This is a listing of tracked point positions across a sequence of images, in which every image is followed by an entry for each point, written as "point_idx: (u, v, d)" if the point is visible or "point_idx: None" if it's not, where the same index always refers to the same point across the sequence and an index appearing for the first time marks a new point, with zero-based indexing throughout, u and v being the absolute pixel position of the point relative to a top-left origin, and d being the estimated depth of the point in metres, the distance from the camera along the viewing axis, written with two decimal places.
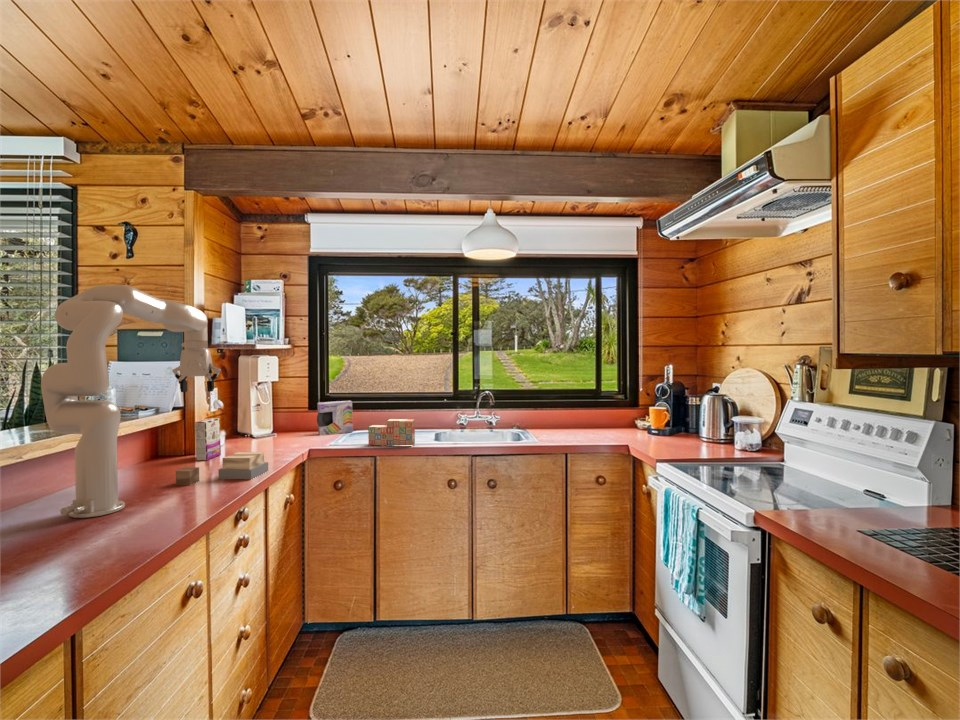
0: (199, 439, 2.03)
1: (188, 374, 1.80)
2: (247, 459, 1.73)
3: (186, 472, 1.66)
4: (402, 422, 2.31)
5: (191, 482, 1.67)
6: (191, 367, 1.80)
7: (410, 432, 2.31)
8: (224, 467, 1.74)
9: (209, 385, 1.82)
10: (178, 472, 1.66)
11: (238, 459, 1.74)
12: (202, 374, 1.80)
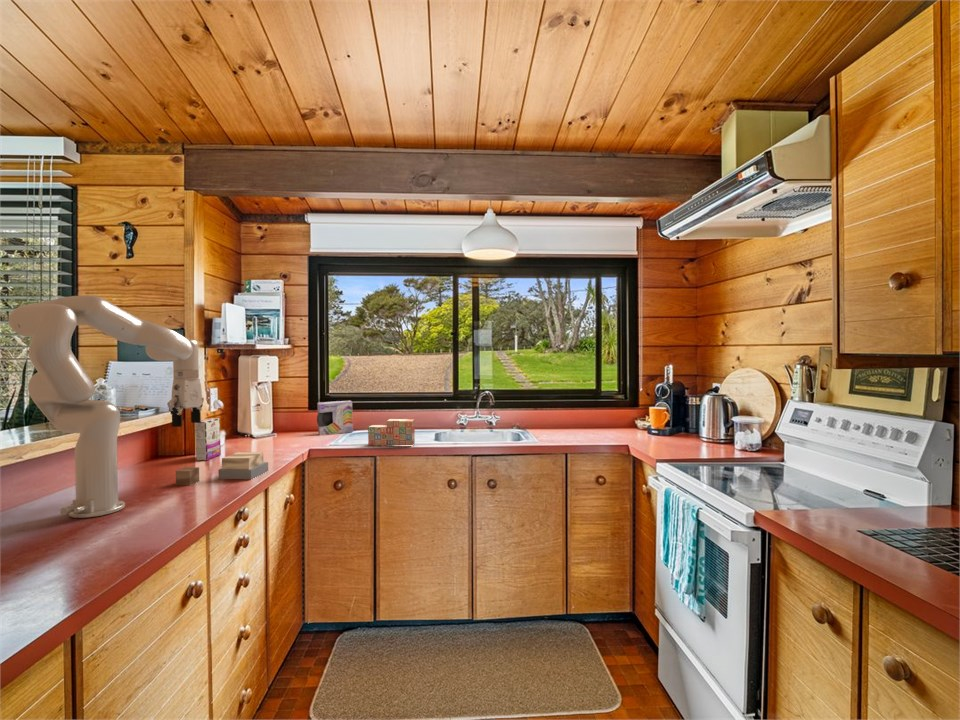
0: (199, 439, 2.03)
1: (191, 405, 1.67)
2: (246, 459, 1.73)
3: (186, 472, 1.66)
4: (402, 422, 2.31)
5: (191, 482, 1.67)
6: (193, 398, 1.68)
7: (410, 432, 2.31)
8: (223, 467, 1.74)
9: None
10: (178, 472, 1.66)
11: (237, 459, 1.73)
12: (200, 404, 1.72)
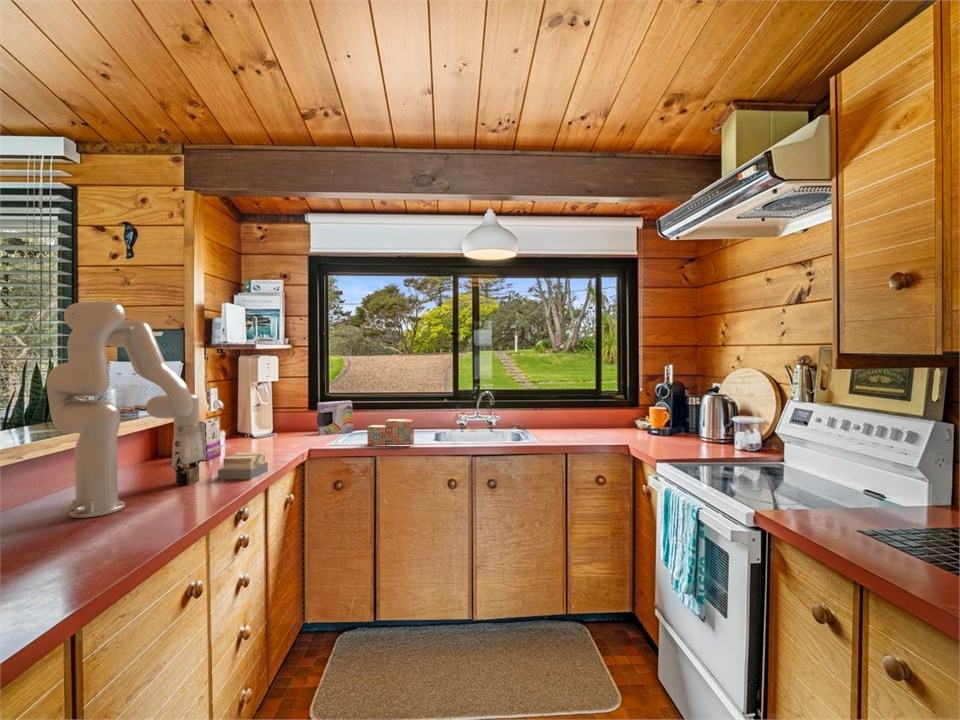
0: None
1: (192, 460, 1.67)
2: (248, 459, 1.73)
3: (186, 472, 1.66)
4: (401, 422, 2.31)
5: (191, 482, 1.67)
6: (193, 453, 1.68)
7: (409, 432, 2.30)
8: (225, 468, 1.74)
9: None
10: None
11: (239, 459, 1.73)
12: (201, 457, 1.72)
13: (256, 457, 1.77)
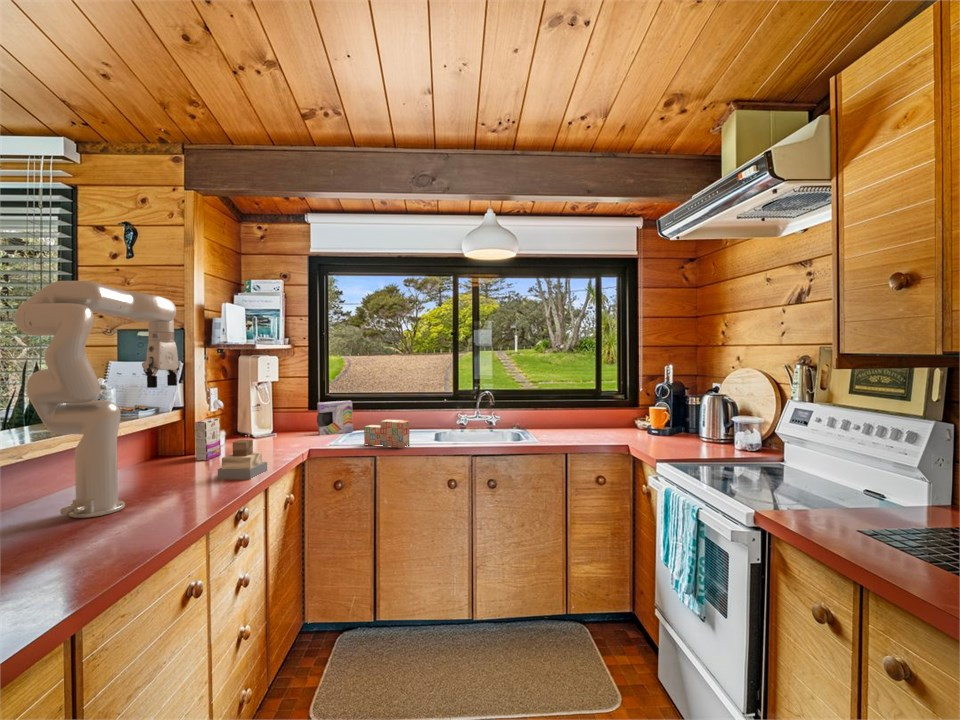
0: (199, 439, 2.03)
1: (166, 367, 1.69)
2: (248, 458, 1.74)
3: (243, 443, 1.77)
4: (394, 423, 2.28)
5: (247, 453, 1.77)
6: (168, 360, 1.70)
7: (401, 433, 2.27)
8: (223, 467, 1.74)
9: None
10: (235, 444, 1.77)
11: (238, 459, 1.74)
12: (176, 367, 1.74)
13: (254, 456, 1.78)
